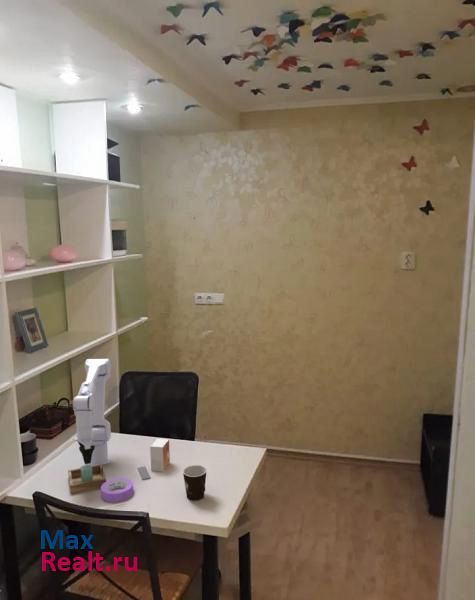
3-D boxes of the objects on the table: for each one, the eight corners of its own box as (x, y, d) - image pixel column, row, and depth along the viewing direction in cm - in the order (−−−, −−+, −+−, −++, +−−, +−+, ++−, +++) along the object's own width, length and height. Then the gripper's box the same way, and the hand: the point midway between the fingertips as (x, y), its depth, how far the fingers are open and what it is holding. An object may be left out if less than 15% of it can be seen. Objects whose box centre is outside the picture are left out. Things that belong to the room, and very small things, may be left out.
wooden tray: (68, 478, 190) (68, 470, 190) (102, 472, 195) (101, 464, 195) (70, 495, 178) (70, 486, 178) (106, 487, 183) (106, 479, 183)
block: (81, 480, 188) (80, 466, 187) (91, 478, 189) (91, 464, 188) (82, 485, 184) (81, 470, 183) (93, 483, 186) (92, 468, 185)
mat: (120, 472, 195) (120, 471, 195) (145, 467, 199) (145, 466, 199) (125, 483, 186) (124, 482, 186) (150, 478, 190) (150, 477, 190)
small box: (163, 471, 195) (162, 447, 193) (150, 470, 196) (149, 446, 194) (170, 462, 203) (169, 439, 201) (157, 461, 204) (156, 438, 202)
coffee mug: (184, 490, 180) (183, 465, 179) (206, 489, 181) (206, 464, 180) (183, 508, 169) (182, 481, 167) (207, 506, 170) (206, 480, 168)
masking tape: (112, 484, 186) (112, 475, 185) (139, 489, 182) (138, 479, 182) (94, 500, 175) (94, 490, 174) (122, 506, 171) (122, 495, 171)
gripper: (71, 421, 188) (73, 453, 190) (75, 434, 175) (77, 469, 177) (90, 418, 191) (92, 450, 193) (95, 431, 178) (97, 465, 180)
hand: (86, 459), depth 185 cm, fingers open, 7 cm apart
